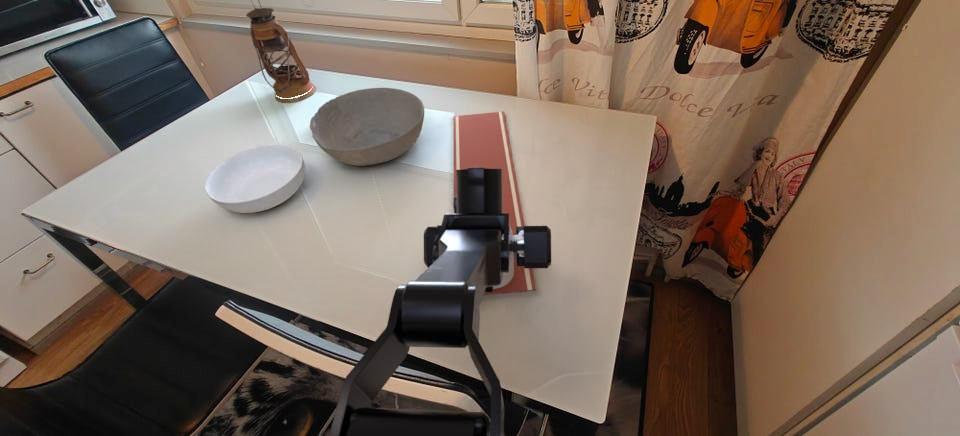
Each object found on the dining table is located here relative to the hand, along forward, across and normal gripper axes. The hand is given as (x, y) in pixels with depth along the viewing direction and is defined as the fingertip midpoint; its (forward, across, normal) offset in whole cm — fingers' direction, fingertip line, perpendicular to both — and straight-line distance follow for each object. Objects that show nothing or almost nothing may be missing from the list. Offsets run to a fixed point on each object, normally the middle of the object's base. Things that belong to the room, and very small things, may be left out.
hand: (491, 244), depth 69 cm
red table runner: (+22, +3, -13) cm, 26 cm away
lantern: (+56, +68, -46) cm, 99 cm away
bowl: (+33, +32, -24) cm, 52 cm away
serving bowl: (+21, +54, -11) cm, 59 cm away
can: (+4, 0, +6) cm, 7 cm away
